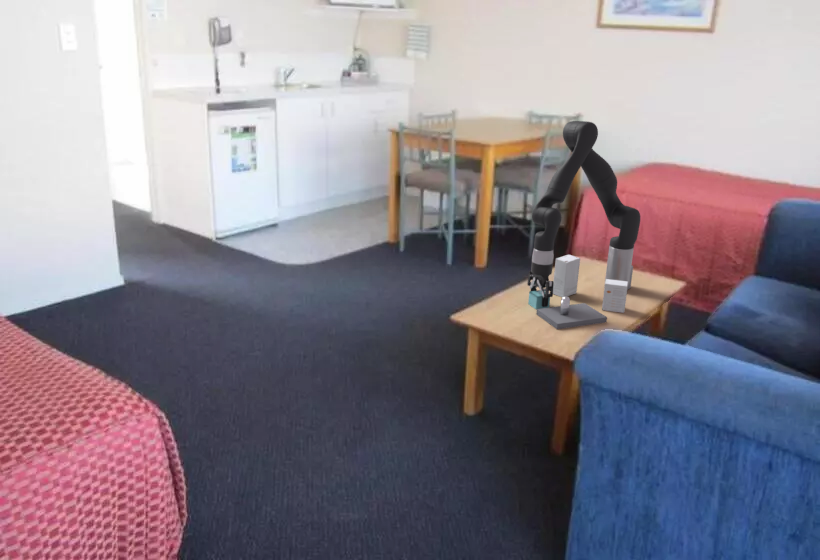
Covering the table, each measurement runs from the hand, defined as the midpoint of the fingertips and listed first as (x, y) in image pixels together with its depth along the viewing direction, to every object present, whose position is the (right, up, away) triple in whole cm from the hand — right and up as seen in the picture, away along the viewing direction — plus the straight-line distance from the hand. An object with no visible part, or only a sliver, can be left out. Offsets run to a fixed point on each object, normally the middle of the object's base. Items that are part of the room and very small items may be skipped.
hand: (538, 302), depth 253 cm
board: (+10, -5, -10) cm, 15 cm away
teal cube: (0, -1, 0) cm, 1 cm away
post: (+7, -4, -12) cm, 14 cm away
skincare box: (+12, +3, +13) cm, 18 cm away
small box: (+27, -3, -1) cm, 28 cm away
